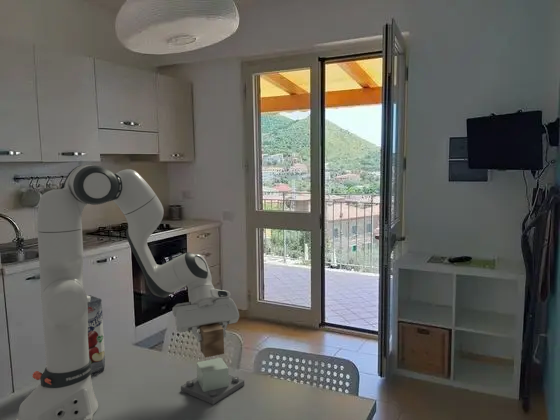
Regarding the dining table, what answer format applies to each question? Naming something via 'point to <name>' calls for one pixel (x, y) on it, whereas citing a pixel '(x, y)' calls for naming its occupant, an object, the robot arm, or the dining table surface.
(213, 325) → the walnut brick
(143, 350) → the dining table surface
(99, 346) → the juice carton
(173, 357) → the dining table surface
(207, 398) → the baseplate
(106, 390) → the dining table surface
